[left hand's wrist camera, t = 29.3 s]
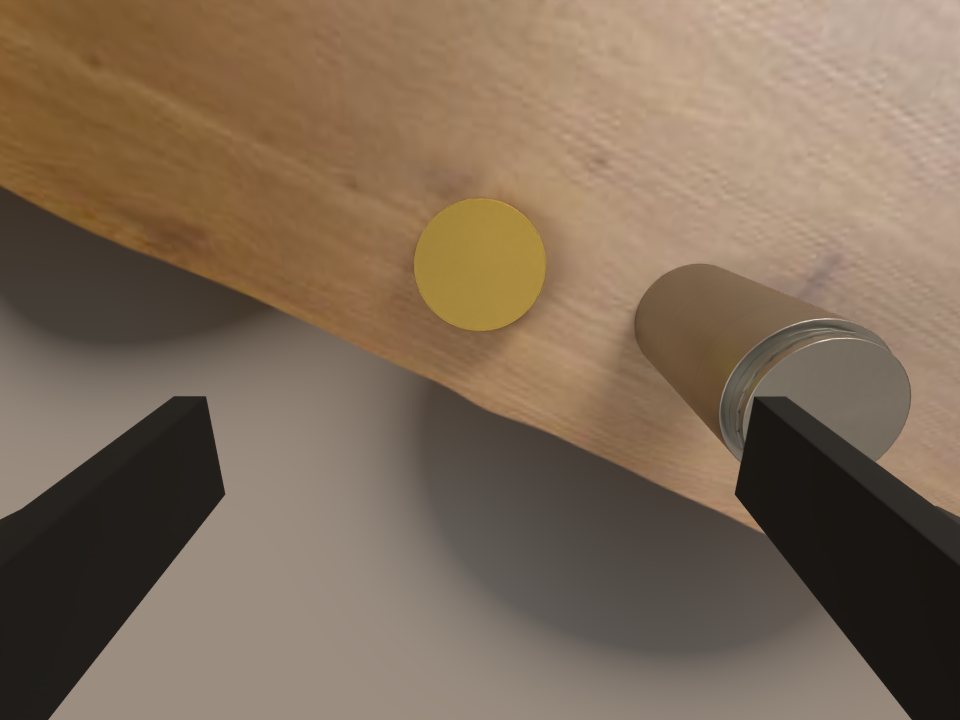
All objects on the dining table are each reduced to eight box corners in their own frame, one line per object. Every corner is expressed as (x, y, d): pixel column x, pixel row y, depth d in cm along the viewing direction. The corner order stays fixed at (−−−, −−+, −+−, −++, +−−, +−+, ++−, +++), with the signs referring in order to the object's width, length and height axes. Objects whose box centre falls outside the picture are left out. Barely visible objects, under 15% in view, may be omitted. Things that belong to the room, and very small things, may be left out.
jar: (619, 291, 40) (711, 371, 24) (733, 244, 38) (908, 296, 23) (653, 389, 42) (755, 518, 27) (760, 348, 41) (933, 458, 25)
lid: (568, 240, 38) (571, 243, 37) (501, 346, 41) (502, 353, 40) (455, 171, 37) (454, 171, 35) (394, 286, 40) (390, 291, 38)
